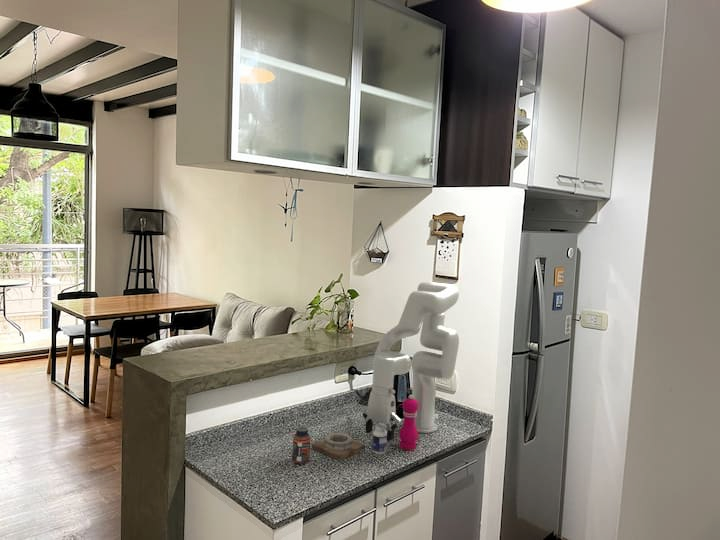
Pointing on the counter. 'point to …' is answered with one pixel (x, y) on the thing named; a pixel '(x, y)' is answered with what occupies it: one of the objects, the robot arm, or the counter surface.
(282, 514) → the counter surface
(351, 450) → the hub board
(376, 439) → the pill bottle
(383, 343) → the robot arm
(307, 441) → the supplement bottle
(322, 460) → the counter surface
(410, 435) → the pepper mill
